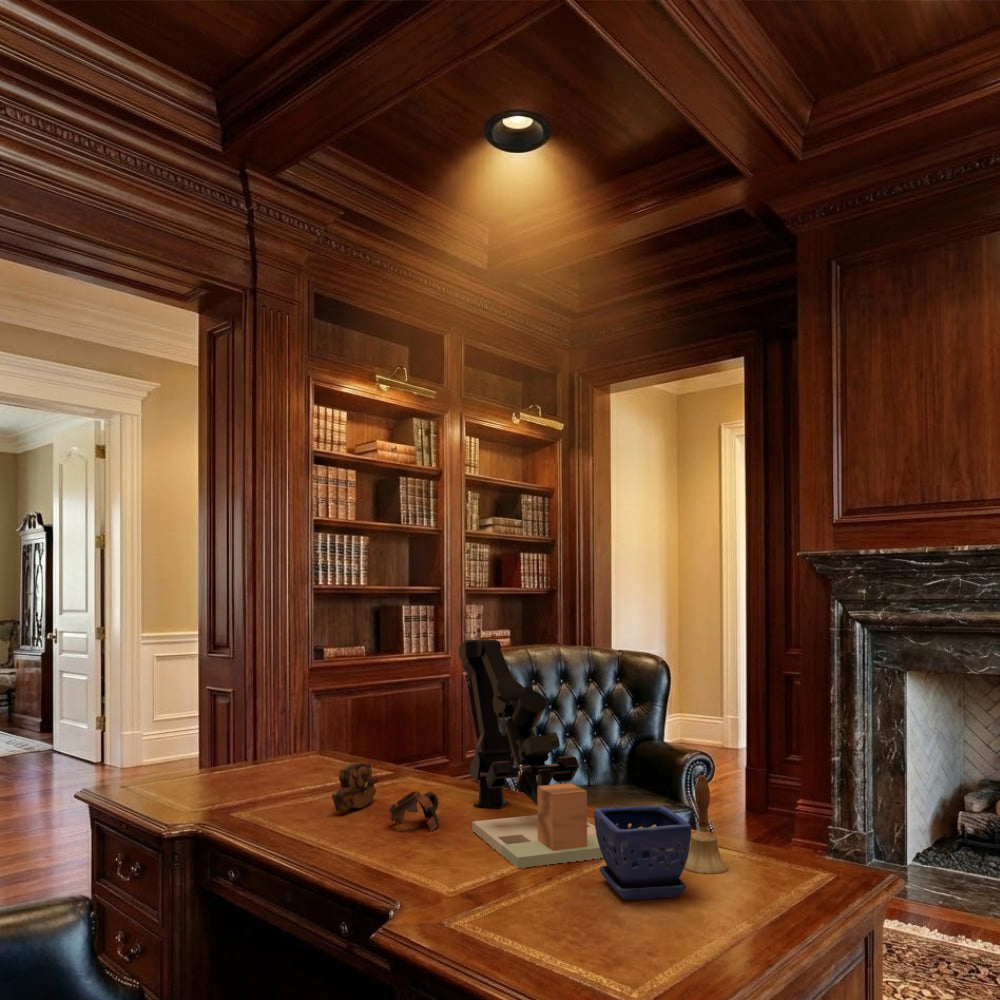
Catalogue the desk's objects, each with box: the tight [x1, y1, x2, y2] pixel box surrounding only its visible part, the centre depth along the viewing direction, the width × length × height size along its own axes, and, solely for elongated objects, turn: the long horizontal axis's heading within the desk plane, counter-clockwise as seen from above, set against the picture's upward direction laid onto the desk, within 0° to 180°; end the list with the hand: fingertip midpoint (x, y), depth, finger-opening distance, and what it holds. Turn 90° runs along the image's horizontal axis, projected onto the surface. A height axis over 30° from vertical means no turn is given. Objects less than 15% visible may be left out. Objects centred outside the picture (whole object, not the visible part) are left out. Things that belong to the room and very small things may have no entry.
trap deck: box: [471, 814, 596, 856], centre depth 172 cm, size 17×22×2 cm
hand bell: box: [684, 774, 729, 875], centre depth 155 cm, size 8×8×16 cm
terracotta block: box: [537, 782, 588, 851], centre depth 162 cm, size 7×7×10 cm
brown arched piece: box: [388, 789, 440, 831], centre depth 182 cm, size 12×10×8 cm
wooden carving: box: [331, 761, 379, 812], centre depth 195 cm, size 16×5×10 cm, turn 162°
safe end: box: [501, 834, 604, 869], centre depth 161 cm, size 8×22×2 cm, turn 111°
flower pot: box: [593, 804, 692, 901], centre depth 144 cm, size 13×13×12 cm
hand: (544, 809), depth 170 cm, fingers closed
